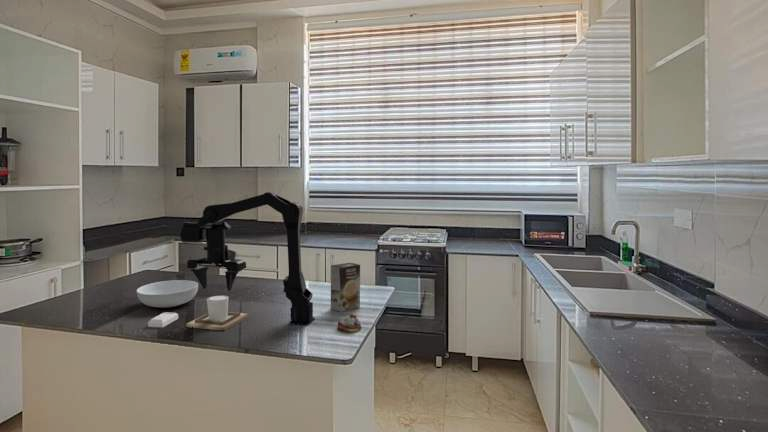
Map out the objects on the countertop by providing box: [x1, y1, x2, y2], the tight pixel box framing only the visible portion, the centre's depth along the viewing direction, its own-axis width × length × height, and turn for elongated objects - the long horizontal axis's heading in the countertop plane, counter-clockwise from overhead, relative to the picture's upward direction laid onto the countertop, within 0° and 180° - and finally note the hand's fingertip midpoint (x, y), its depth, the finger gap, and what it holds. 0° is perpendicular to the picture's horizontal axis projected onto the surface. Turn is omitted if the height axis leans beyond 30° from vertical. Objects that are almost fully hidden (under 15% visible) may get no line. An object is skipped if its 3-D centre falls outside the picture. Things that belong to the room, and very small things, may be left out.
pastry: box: [337, 313, 362, 334], centre depth 141 cm, size 8×8×5 cm
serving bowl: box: [135, 279, 199, 309], centre depth 166 cm, size 21×21×7 cm
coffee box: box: [330, 262, 361, 313], centre depth 162 cm, size 9×6×16 cm
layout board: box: [185, 311, 249, 331], centre depth 147 cm, size 14×14×2 cm
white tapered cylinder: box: [206, 295, 229, 321], centre depth 147 cm, size 7×7×7 cm
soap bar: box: [147, 311, 179, 328], centre depth 146 cm, size 5×9×3 cm, turn 174°
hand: (217, 289), depth 146 cm, fingers open, 9 cm apart
